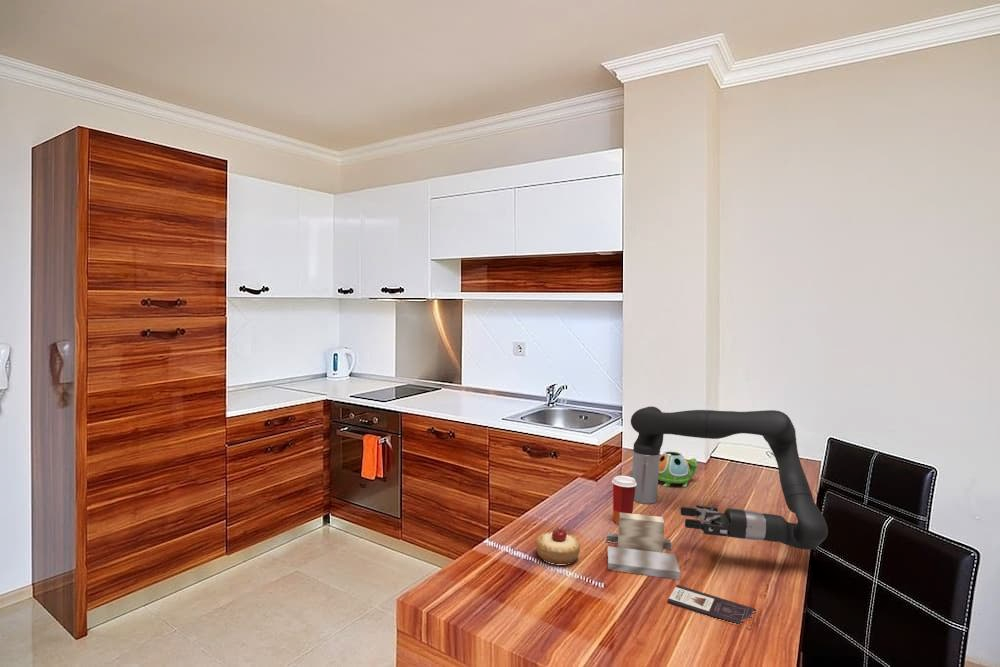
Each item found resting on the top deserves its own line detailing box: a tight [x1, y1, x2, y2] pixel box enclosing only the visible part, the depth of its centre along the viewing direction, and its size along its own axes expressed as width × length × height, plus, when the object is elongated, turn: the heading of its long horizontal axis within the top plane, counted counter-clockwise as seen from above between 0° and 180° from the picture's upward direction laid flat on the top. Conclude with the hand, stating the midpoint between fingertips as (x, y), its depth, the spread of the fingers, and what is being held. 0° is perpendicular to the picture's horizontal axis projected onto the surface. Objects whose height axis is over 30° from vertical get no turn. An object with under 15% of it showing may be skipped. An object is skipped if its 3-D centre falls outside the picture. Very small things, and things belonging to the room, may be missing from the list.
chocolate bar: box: [666, 584, 757, 625], centre depth 128 cm, size 9×1×18 cm
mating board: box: [606, 532, 681, 581], centre depth 151 cm, size 18×19×2 cm
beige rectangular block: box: [617, 512, 665, 553], centre depth 155 cm, size 12×4×10 cm, turn 80°
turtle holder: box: [658, 450, 699, 489], centre depth 216 cm, size 12×18×12 cm
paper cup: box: [611, 475, 637, 523], centre depth 175 cm, size 8×8×14 cm
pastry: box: [535, 527, 581, 564], centre depth 149 cm, size 12×12×9 cm
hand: (682, 516), depth 152 cm, fingers open, 8 cm apart
